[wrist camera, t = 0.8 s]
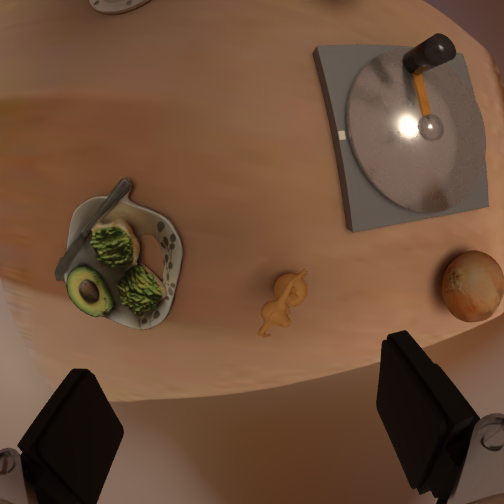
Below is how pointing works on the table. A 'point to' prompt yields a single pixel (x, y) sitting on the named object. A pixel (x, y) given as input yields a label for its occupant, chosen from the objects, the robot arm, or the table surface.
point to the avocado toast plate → (119, 260)
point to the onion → (473, 286)
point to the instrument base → (351, 176)
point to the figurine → (283, 301)
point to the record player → (416, 127)
